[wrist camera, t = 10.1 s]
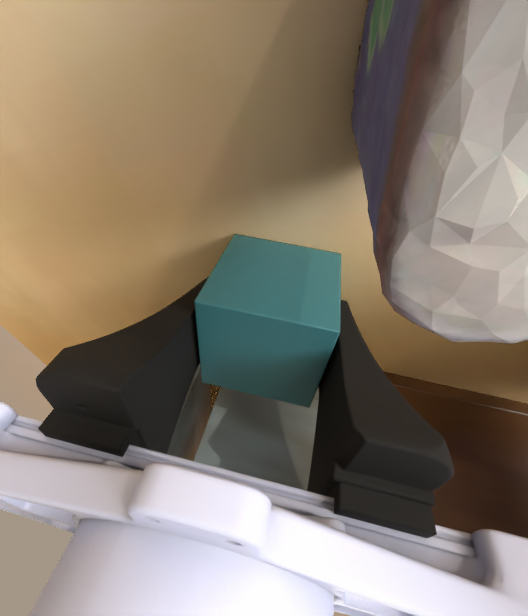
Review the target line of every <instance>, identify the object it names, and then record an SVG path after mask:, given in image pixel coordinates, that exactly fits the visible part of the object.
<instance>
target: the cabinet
mask: <svg viewBox="0 0 528 616" xmlns="http://www.w3.org/2000/svg"><path fill="white" fill-rule="evenodd" d="M384 374H385V375H386V377H387V378H388V379H389V381H390V382H391V383H392V384H393V385H394V387H395V388H396V389H397V390H398V392H399V393H400V394H401V395H402V396H403V398H404V399H405V400H406V401H407V402H408V403H409V404H410V405H411V406H412V407H413V408H414V409H415V411H416V412H417V413H418V414H419V415H420V416H421V417H422V418H423V419H424V420H425V421H427V422H428V423H429V424H430V425H431V426H432V427H433V428H434V429H435V430H436V431H437V432H438V433H439V434H440V435H441V436H442V437H443V438H444V439H445V442H446V445H447V448H448V450H449V453H450V456H451V460H452V464H453V468H454V471H455V472H454V476H453V477H452V478H451V479H450V480H449V481H448V482H447V483H445V484H444V485H442V486H440V487H439V488H437V489H436V490H434V491H433V493H434V497H435V505H434V506H431V507H432V512H433V517H434V522H435V525H439V526H442V527H446V528H450V529H454V530H458V531H461V532H465V533H469V534H472V533H473V532H475V531H477V530H481V529H492V530H497V531H501V532H505V533H509V534H513V535H516V536H520V537H524V538H528V404H525V403H521V402H516V401H512V400H507V399H503V398H498V397H494V396H489V395H484V394H480V393H475V392H471V391H466V390H462V389H457V388H453V387H448V386H444V385H439V384H435V383H430V382H426V381H421V380H417V379H412V378H407V377H403V376H398V375H394V374H389V373H385V372H384Z"/></svg>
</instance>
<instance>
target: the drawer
mask: <svg viewBox="0 0 528 616" xmlns="http://www.w3.org/2000/svg"><path fill="white" fill-rule="evenodd" d="M318 402H319V388H317V391H316V393H315V396H314V398H313V401H312V403H311V406H310V407H309V408H308V407H304V406H299V405H295V404H291V403H287V402H283V401H278V400H274V399H270V398H266V397H261V396H257V395H253V394H249V393H245V392H240V391H236V390H232V389H228V388H223V387H220V390H219V393H218V395H217V398H216V401H215V403H214V406H213V409H212V403H211V387H210V384H207V383H203V382H202V377H201V367H200V364H199V366H198V368H197V370H196V373H195V375H194V378H193V380H192V383H191V385H190V388H189V391H188V393H187V396H186V399H185V402H184V404H183V407H182V410H181V413H180V416H179V418H178V421H177V424H176V427H175V430H174V433H173V436H172V439H171V443H170V446H169V449H168V452H167V454H168V455H172V456H176V457H179V458H183V459H187V460H191V461H195V462H199V463H202V464H206V465H210V466H214V467H218V468H221V469H225V470H229V471H233V472H237V473H240V474H244V475H248V476H252V477H256V478H259V479H263V480H267V481H271V482H275V483H279V484H282V485H286V486H290V487H294V488H298V489H301V490H305V491H307V488H308V481H309V475H310V468H311V460H312V453H313V445H314V437H315V429H316V420H317V411H318Z"/></svg>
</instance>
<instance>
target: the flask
mask: <svg viewBox="0 0 528 616" xmlns="http://www.w3.org/2000/svg"><path fill="white" fill-rule="evenodd" d="M353 92H354V93H353V106H352V111H351V120H352V128H353V133H354V136H355V141H356V145H357V149H358V151H359V159H360V163H361V166H362V170H363V177H364V183H365V188H366V194H367V199H368V213H369V218H370V222H371V226H372V230H373V247H374V255H375V259H376V262H377V266H378V270H379V273H380V279H381V287H382V293H383V295H384V296H385V298H386V299H387V301H388V302H389V303H390V305H391V306H392V308H393V309H394V310H395V311H396V312H397V313H399V314H400V315H402V316H403V317H405V318H406V319H408V320H409V321H411V322H412V323H414V324H416V325H418V326H420V327H423V328H425V329H427V330H429V331H431V332H433V333H435V334H437V335H439V336H441V337H443V338H445V339H448V340H450V341H452V342H498V343H509V344H514V343H518V342H522V341H526V340H528V0H369V2H368V6H367V10H366V15H365V21H364V29H363V36H362V43H361V45H360V46H359V55H358V62H357V70H356V74H355V84H354V90H353Z"/></svg>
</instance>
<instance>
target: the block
mask: <svg viewBox="0 0 528 616" xmlns="http://www.w3.org/2000/svg"><path fill="white" fill-rule="evenodd" d="M340 302H341V254H339V253H334V252H329V251H323V250H318V249H313V248H307V247H302V246H297V245H291V244H286V243H281V242H275V241H270V240H265V239H259V238H254V237H249V236H243V235H238V234H234V236H233V237H232V239H231V241H230V242H229V244H228V246H227V247H226V249H225V251H224V252H223V254H222V256H221V257H220V259H219V261H218V262H217V264H216V266H215V267H214V269H213V271H212V272H211V274H210V276H209V277H208V279H207V281H206V282H205V284H204V286H203V287H202V289H201V291H200V292H199V294H198V296H197V297H196V299H195V301H194V304H195V314H196V325H197V335H198V346H199V356H200V367H201V377H202V382H203V383H207V384H211V385H215V386H219V387H223V388H228V389H232V390H236V391H240V392H245V393H249V394H253V395H257V396H261V397H266V398H270V399H274V400H278V401H283V402H287V403H291V404H295V405H299V406H304V407H308V408H309V407H310V406H311V403H312V401H313V398H314V396H315V393H316V391H317V388H318V386H319V383H320V381H321V379H322V376H323V374H324V371H325V369H326V366H327V364H328V361H329V359H330V356H331V354H332V351H333V349H334V346H335V344H336V341H337V339H338V336H339V334H340Z"/></svg>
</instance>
